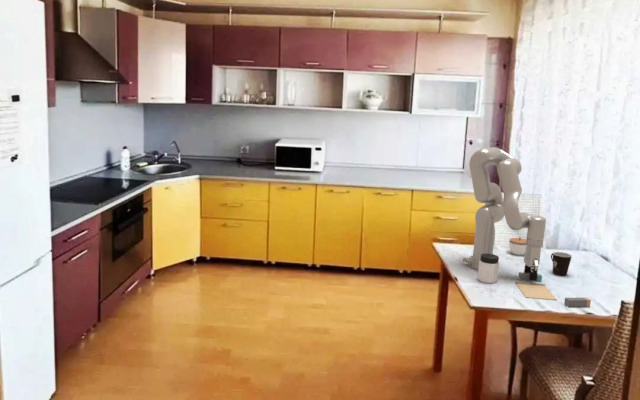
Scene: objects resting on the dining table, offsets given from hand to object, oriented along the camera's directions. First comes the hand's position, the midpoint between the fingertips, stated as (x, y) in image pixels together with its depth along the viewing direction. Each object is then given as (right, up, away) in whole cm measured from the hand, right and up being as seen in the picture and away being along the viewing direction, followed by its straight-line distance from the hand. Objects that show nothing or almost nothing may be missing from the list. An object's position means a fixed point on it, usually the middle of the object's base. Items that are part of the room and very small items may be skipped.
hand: (530, 276), depth 272 cm
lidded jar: (+9, +7, +44) cm, 45 cm away
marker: (0, -2, 0) cm, 2 cm away
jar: (-22, -1, -4) cm, 22 cm away
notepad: (-3, -4, -15) cm, 16 cm away
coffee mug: (+19, 0, +13) cm, 23 cm away
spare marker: (+9, -8, -30) cm, 32 cm away
